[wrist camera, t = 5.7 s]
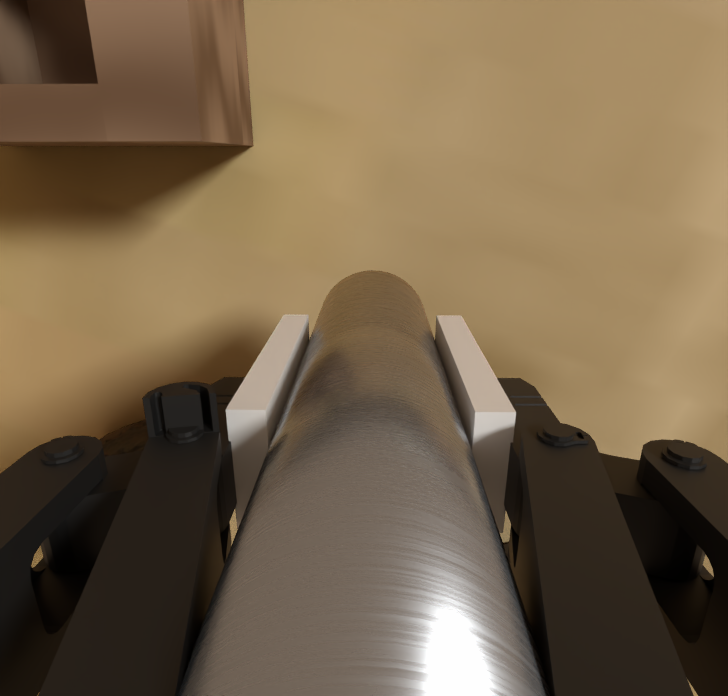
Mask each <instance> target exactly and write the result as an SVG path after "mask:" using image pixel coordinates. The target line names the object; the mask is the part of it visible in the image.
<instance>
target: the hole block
mask: <svg viewBox="0 0 728 696" xmlns="http://www.w3.org/2000/svg"><path fill="white" fill-rule="evenodd" d="M0 146H253V134H252V119H251V105H250V91H249V77H248V62H247V48H246V34H245V20H244V5H243V0H0Z"/></svg>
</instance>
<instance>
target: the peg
mask: <svg viewBox="0 0 728 696" xmlns="http://www.w3.org/2000/svg"><path fill="white" fill-rule="evenodd" d="M179 696H551V694H550V690H549V686H548V682H547V678H546V674H545V670H544V666H543V662H542V658H541V655H540V652H539V649H538V646H537V643H536V640H535V637H534V634H533V632H532V629H531V626H530V623H529V620H528V617H527V614H526V611H525V608H524V605H523V602H522V599H521V596H520V593H519V590H518V587H517V584H516V581H515V578H514V575H513V572H512V569H511V566H510V563H509V560H508V557H507V554H506V551H505V548H504V545H503V542H502V539H501V536H500V533H499V530H498V527H497V524H496V521H495V518H494V516H493V513H492V510H491V507H490V504H489V501H488V498H487V495H486V492H485V489H484V486H483V483H482V480H481V477H480V474H479V471H478V468H477V465H476V462H475V459H474V456H473V453H472V450H471V447H470V444H469V441H468V438H467V435H466V432H465V429H464V426H463V423H462V420H461V417H460V414H459V411H458V408H457V405H456V402H455V400H454V397H453V394H452V391H451V388H450V385H449V382H448V379H447V376H446V373H445V370H444V367H443V364H442V361H441V358H440V355H439V352H438V349H437V346H436V343H435V340H434V337H433V334H432V331H431V328H430V325H429V322H428V319H427V316H426V313H425V310H424V307H423V304H422V302H421V300H420V298H419V296H418V295H417V293H416V291H415V290H414V289H413V288H412V287H411V286H410V285H409V284H408V283H407V282H406V281H404V280H403V279H401V278H399V277H397V276H395V275H393V274H390V273H387V272H383V271H363V272H358V273H355V274H352V275H350V276H348V277H346V278H344V279H343V280H341V281H340V282H339V283H338V284H336V285H335V286H334V287H333V289H332V290H331V291H330V292H329V294H328V295H327V297H326V299H325V301H324V303H323V306H322V308H321V311H320V313H319V316H318V319H317V321H316V324H315V327H314V329H313V332H312V335H311V337H310V340H309V343H308V345H307V348H306V351H305V353H304V356H303V358H302V361H301V364H300V366H299V369H298V372H297V374H296V377H295V380H294V382H293V385H292V388H291V390H290V393H289V395H288V398H287V401H286V403H285V406H284V409H283V411H282V414H281V417H280V419H279V422H278V425H277V427H276V430H275V433H274V435H273V438H272V440H271V443H270V446H269V448H268V451H267V454H266V456H265V459H264V462H263V464H262V467H261V470H260V472H259V475H258V478H257V480H256V483H255V485H254V488H253V491H252V493H251V496H250V499H249V501H248V504H247V507H246V509H245V512H244V515H243V517H242V520H241V522H240V525H239V528H238V530H237V533H236V536H235V538H234V541H233V544H232V546H231V549H230V552H229V554H228V557H227V560H226V562H225V565H224V567H223V570H222V573H221V575H220V578H219V581H218V583H217V586H216V589H215V591H214V594H213V597H212V599H211V602H210V605H209V607H208V610H207V612H206V615H205V618H204V620H203V623H202V626H201V628H200V631H199V634H198V636H197V639H196V642H195V644H194V647H193V649H192V652H191V656H190V659H189V662H188V665H187V669H186V672H185V675H184V678H183V682H182V685H181V688H180V692H179Z"/></svg>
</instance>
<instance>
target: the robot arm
mask: <svg viewBox="0 0 728 696" xmlns="http://www.w3.org/2000/svg"><path fill="white" fill-rule="evenodd" d="M308 343H309V323H308V315H283V317H282V318H281V320H280V322H279V323H278V325H277V326H276V328H275V330H274V331H273V333H272V335H271V336H270V338H269V339H268V341H267V343H266V344H265V346H264V348H263V349H262V351H261V353H260V354H259V356H258V357H257V359H256V361H255V362H254V364H253V366H252V367H251V369H250V371H249V372H248V374H247V375H246V377H245V378H230V377H224V378H222V379H221V380H219V381H217V382H215V383H214V384H212V385H209V384H205V383H200V382H180V383H173V384H168V385H165V386H162V387H158V388H156V389H154V390H152V391H150V392H148V393H147V394H146V395H145V396H144V397H143V398H142V399H143V405H144V411H145V418H146V424H147V430H148V437H149V438H148V440H147V443H146V445H145V447H144V450H141V451H136V452H131V453H125V454H119V455H112V456H106V457H105V456H104V451H103V446H102V441H100V440H98V439H97V438H95V437H89V436H65V437H63V438H61V437H60V438H56V439H53V440H51V441H50V442H47V443H45V444H42V445H39V446H38V447H36V448H34V449H33V450H31V451H29V452H28V453H26V454H25V455H24V456H23V457H21V458H20V459H19V460H17V461H16V462H15V463H14V464H12V465H11V466H10V467H8V468H7V469H6V470H5V471H3V472H2V473H1V474H0V696H37V695H38V693H39V692H40V693H39V695H38V696H179V692H180V688H181V685H182V682H183V678H184V675H185V672H186V669H187V665H188V662H189V659H190V656H191V652H192V649H193V647H194V644H195V642H196V639H197V636H198V634H199V631H200V628H201V626H202V623H203V620H204V618H205V615H206V612H207V610H208V607H209V605H210V602H211V599H212V597H213V594H214V591H215V589H216V586H217V583H218V581H219V578H220V575H221V573H222V570H223V567H224V565H225V562H226V560H227V557H228V554H229V552H230V549H231V533H230V523H229V521H230V519H231V516H232V514H233V511H234V509H236V519H237V529H238V528H239V525H240V522H241V520H242V517H243V515H244V512H245V509H246V507H247V504H248V501H249V499H250V496H251V493H252V491H253V488H254V485H255V483H256V480H257V478H258V475H259V472H260V470H261V467H262V464H263V462H264V459H265V456H266V454H267V451H268V448H269V446H270V443H271V440H272V438H273V435H274V433H275V430H276V427H277V425H278V422H279V419H280V417H281V414H282V411H283V409H284V406H285V403H286V401H287V398H288V395H289V393H290V390H291V388H292V385H293V382H294V380H295V377H296V374H297V372H298V369H299V366H300V364H301V361H302V358H303V356H304V353H305V351H306V348H307V345H308ZM435 343H436V346H437V349H438V352H439V355H440V358H441V361H442V364H443V367H444V370H445V373H446V376H447V379H448V382H449V385H450V388H451V391H452V394H453V397H454V400H455V402H456V405H457V408H458V411H459V414H460V417H461V420H462V423H463V426H464V429H465V432H466V435H467V438H468V441H469V444H470V447H471V450H472V453H473V456H474V459H475V462H476V465H477V468H478V471H479V474H480V477H481V480H482V483H483V486H484V489H485V492H486V495H487V498H488V501H489V504H490V507H491V510H492V513H493V516H494V518H495V521H496V524H497V527H498V530H499V533H503V528H504V519H505V510H506V512H507V514H508V517H509V520H510V522H511V531H510V540H509V543H507V544H504V548H505V551H506V554H507V557H508V560H509V563H510V566H511V569H512V572H513V575H514V578H515V581H516V584H517V587H518V590H519V593H520V596H521V599H522V602H523V605H524V608H525V611H526V614H527V617H528V620H529V623H530V626H531V629H532V632H533V634H534V637H535V640H536V643H537V646H538V649H539V652H540V655H541V658H542V662H543V666H544V670H545V674H546V678H547V682H548V686H549V690H550V694H551V696H693V693H692V691H691V688H690V685H689V683H688V680H689V682H690V683H691V685H692V687H693V688H694V690H695V691H696V693H697V694H698V696H728V463H726V462H725V461H724V460H723V459H721V458H720V457H718V456H717V455H715V454H713V453H712V452H710V451H708V450H706V449H703V448H701V447H698V446H697V445H695V444H693V443H690V442H686V443H685V442H684V441H681V440H655V441H650V442H648V443H646V444H644V445H643V449H642V453H641V458H640V461H639V460H634V459H628V458H622V457H617V456H611V455H607V454H603V453H599V451H598V449H597V446H596V444H595V441H594V440H593V439H592V438H591V436H590V435H589V434H587V433H586V432H584V431H582V430H581V429H579V428H576V427H573V426H570V425H568V424H562V423H560V422H559V420H558V419H557V418H556V416H555V415H554V413H553V412H552V411H551V409H550V408H549V407H548V406H547V404H546V402H545V401H544V400H543V398H541V395H540V394H539V393H538V391H537V390H536V388H535V387H534V386H532V385H531V384H529V383H527V382H526V381H524V380H522V379H521V378H496V376H495V374H494V372H493V371H492V369H491V367H490V365H489V364H488V362H487V360H486V358H485V357H484V355H483V353H482V351H481V350H480V348H479V346H478V344H477V342H476V341H475V339H474V337H473V335H472V334H471V332H470V330H469V328H468V327H467V325H466V323H465V321H464V320H463V318H462V316H446V315H436V335H435ZM40 545H41V549H42V553H43V558H42V560H41V561H40V562H39V563H38V564H37V565H36V566H35V567H34V568H32V567H31V564H32V560H33V557H34V554H35V553H36V551H37V549H38V548H39V546H40ZM705 554H706V555H707V557H708V558H709V560H710V563H711V566H712V568H713V573H714V577H713V576H712V575H711V574H710V573H709V572H708V571H707V570H706V568H705V567H704V566H703V561H704V557H705ZM686 677H687V678H686ZM687 679H688V680H687ZM40 690H41V691H40Z"/></svg>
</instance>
